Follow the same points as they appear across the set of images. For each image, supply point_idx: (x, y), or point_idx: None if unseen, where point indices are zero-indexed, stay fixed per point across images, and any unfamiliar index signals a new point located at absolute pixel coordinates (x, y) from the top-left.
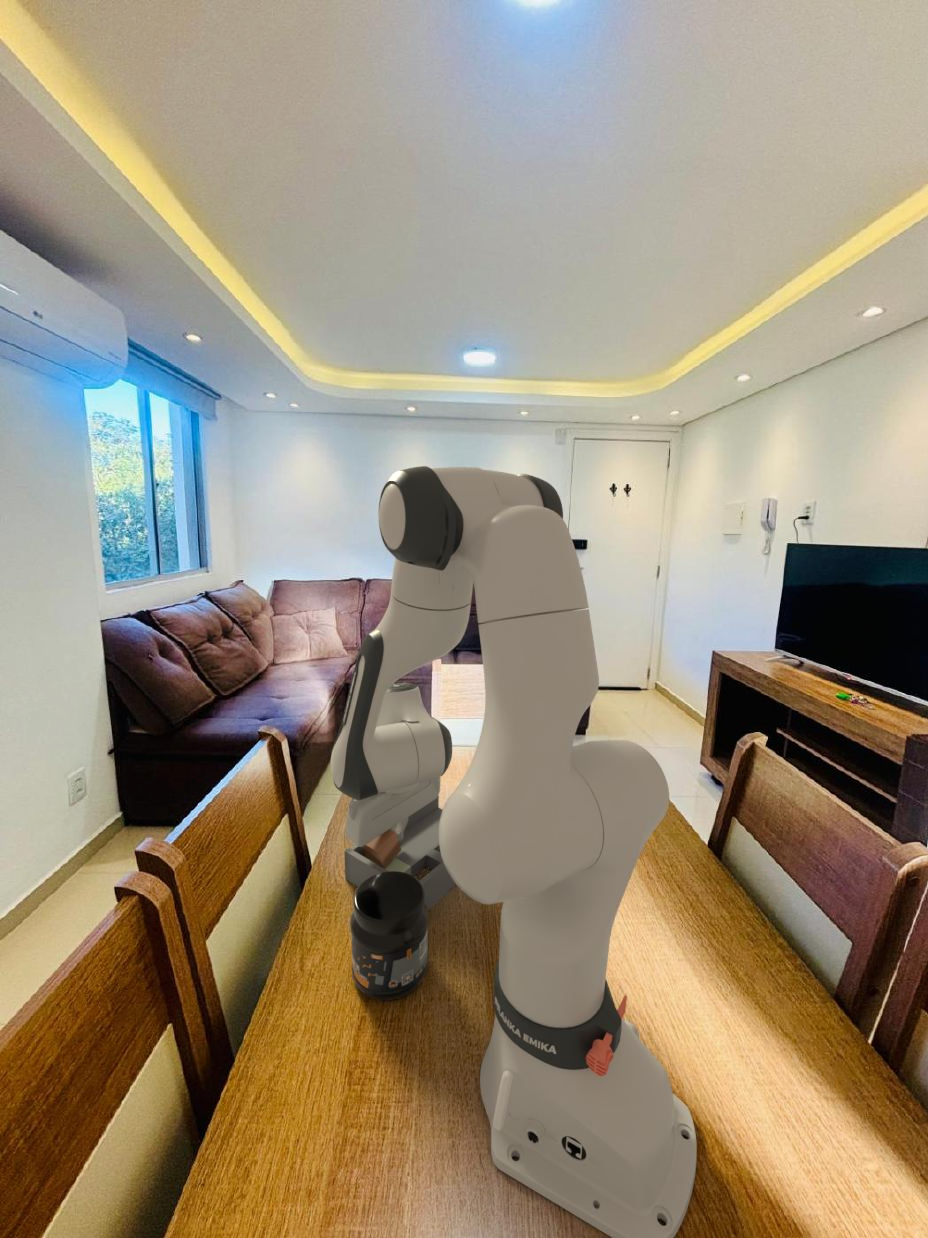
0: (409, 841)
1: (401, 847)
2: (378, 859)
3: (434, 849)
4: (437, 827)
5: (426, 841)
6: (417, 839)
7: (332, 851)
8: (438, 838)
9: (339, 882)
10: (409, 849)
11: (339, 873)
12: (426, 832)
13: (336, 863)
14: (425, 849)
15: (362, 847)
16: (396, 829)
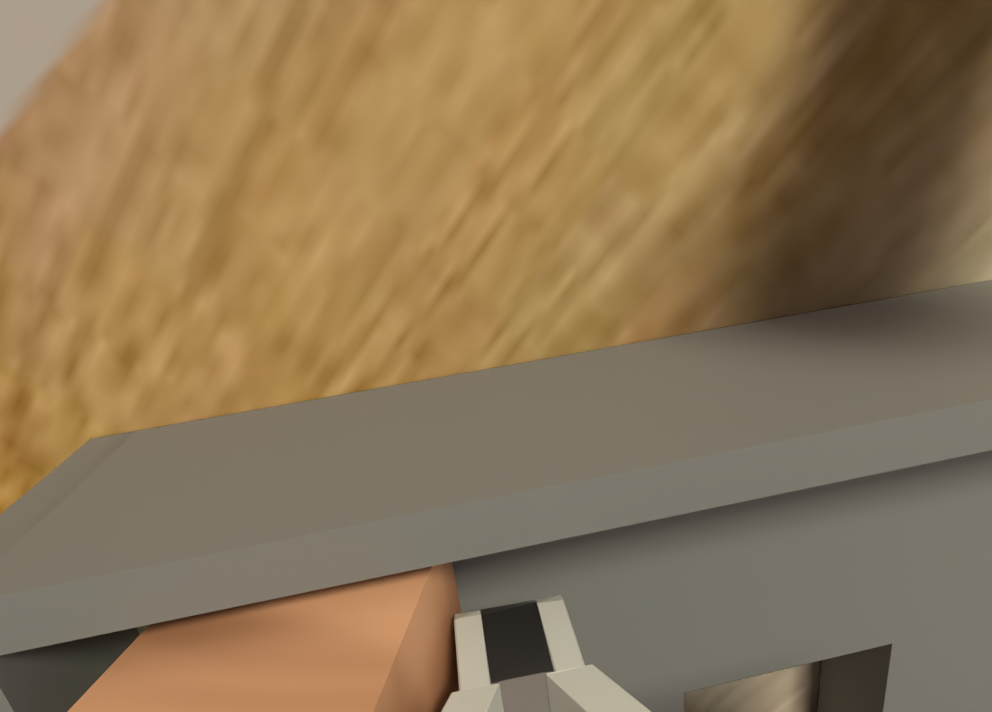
0: (635, 549)
1: (544, 568)
2: None
3: (689, 685)
4: (890, 534)
5: (715, 614)
6: (692, 560)
7: (130, 44)
8: (791, 630)
9: (37, 439)
10: (571, 615)
11: (75, 355)
12: (796, 537)
13: (99, 231)
14: (646, 672)
15: (123, 653)
16: (553, 704)
